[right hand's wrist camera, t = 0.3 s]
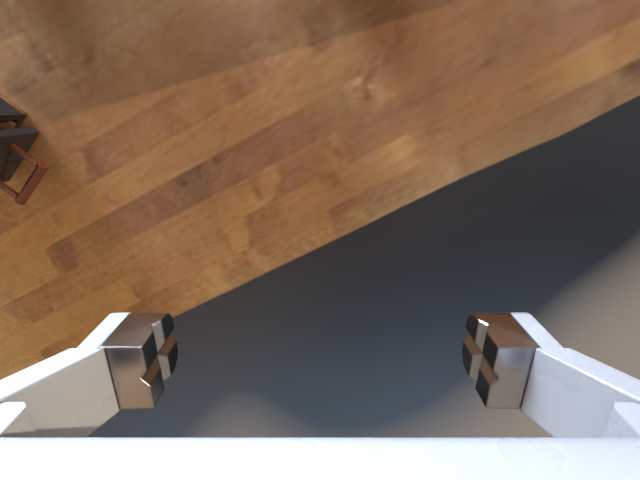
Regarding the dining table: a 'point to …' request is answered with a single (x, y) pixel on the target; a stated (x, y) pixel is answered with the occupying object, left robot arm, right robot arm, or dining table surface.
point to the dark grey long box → (11, 112)
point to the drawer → (18, 158)
